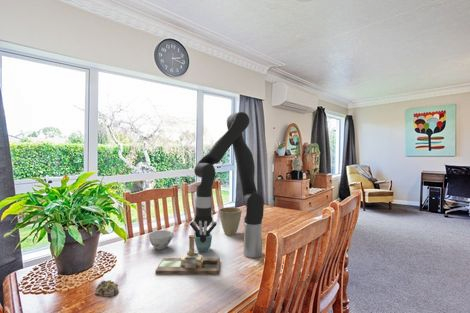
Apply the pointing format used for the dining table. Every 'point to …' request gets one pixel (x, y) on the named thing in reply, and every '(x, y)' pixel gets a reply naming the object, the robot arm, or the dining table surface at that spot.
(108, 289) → the mineral rock
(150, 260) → the dining table surface
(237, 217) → the plant pot
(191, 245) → the beige post stand
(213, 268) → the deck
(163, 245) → the grey stone bowl
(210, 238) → the flower pot
